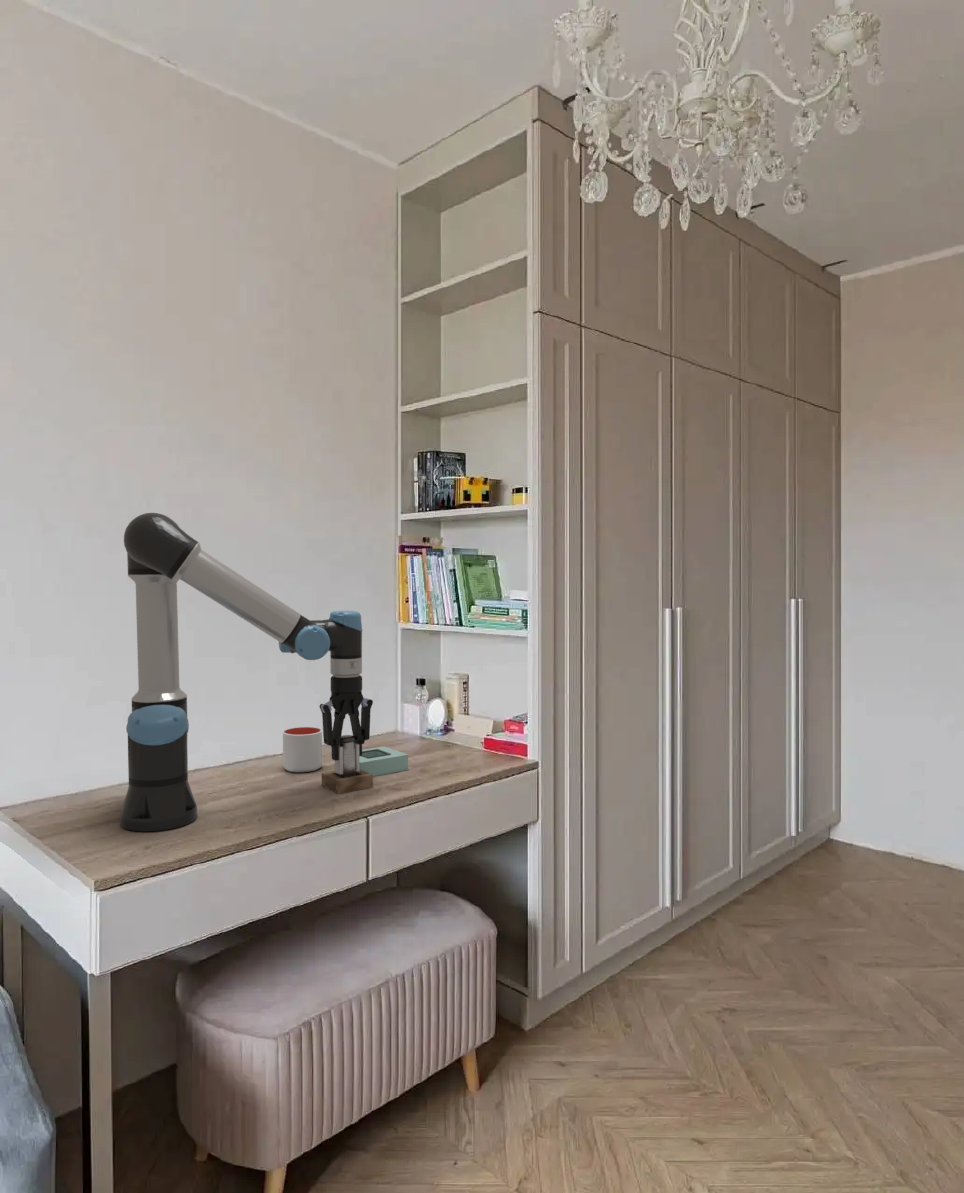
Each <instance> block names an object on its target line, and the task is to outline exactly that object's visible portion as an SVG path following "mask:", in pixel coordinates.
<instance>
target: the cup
mask: <svg viewBox="0 0 964 1193" xmlns="http://www.w3.org/2000/svg"><path fill="white" fill-rule="evenodd" d="M282 754H283V755H282V764H283V768H284V769H285V770H286V771H288V772H290V773H310V772H313V771H314V772H315V771H318V769H320V768H321V767H322V765H323V729H321V728H319V727H313V726H312V727H311V726H301V727H300V726H299V727H292V728H291V727H290V728H287V729H285V730H283V731H282Z"/></svg>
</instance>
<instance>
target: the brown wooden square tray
mask: <svg viewBox="0 0 964 1193" xmlns="http://www.w3.org/2000/svg"><path fill="white" fill-rule="evenodd" d="M355 773H356V776H352V777H347V778H341V777H339V774H338V773H335V770H332V771H325V772H321V786H323V787H324V788H327V789H329V790H331V791H332V792H335V793H338V794H344V793H351V792H354V791H355V792H356V791H360V790H365V789H370V788H374V776H373V775H372V774H370V773H367V772H365V771H362V770H360V769H359V771H355Z"/></svg>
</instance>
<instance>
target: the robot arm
mask: <svg viewBox="0 0 964 1193" xmlns="http://www.w3.org/2000/svg"><path fill="white" fill-rule="evenodd" d="M123 545H124V548H125V551H126V554H127V555H126V556H127V557H126V558H127V577H129V579H130V580H131V581H133V582H134V584H135V608H136V611H135V612H136V640H137V641H136V643H137V649H136V650H137V678H138V679H137V680H138V683H137V685H138V689H137V692H136V693H134V695H133V696H132V697H131V712H130V714H129V716H128V717H127V724H126V733H127V759H128V760H127V763H128V765H127V766H128V768H127V769H128V770H127V771H128V772H127V773H128V774H127V775H128V788H127V791H126V794H125V798H124V801H123V804H122V808H121V811H120V813H119V820H120V827H121V828H122V829H124V830H129V831H132V832H159V831H167V830H171V829H172V830H173V829H176V828H181V827H183V826H186V825H189V824H190V823H193V822H195V821H196V819H197V818H198V806H197V803H196V800H195V797H194V795H193V794H194V793H193V792H192V789H191V786H190V784H189V783H190V782H189V774H188V773H189V771H188V770H189V769H188V768H189V767H188V766H189V765H188V733H189V719H188V695H187V693H185V691H184V690H182V689H181V688H180V658H179V654H180V653H179V652H180V651H179V621H178V618H179V617H178V612H179V611H178V584H177V583H178V582H179V580H181V581H182V582H184V583H185V584H187V585H189V586H191V588H193V589H195V590H196V591H198V592H200V593H202V594H203V595H204V596H206V597H208V598H209V599H211V600H213V601H214V602H216V603H217V604H219V605H220V606H222V607H224V608H225V609H227V610H228V611H230V612H232V613H233V614H235V615H236V616H238V617H240V619H243V620H244V621H246V622H247V623H249V624H250V625H252V626H254V627H255V628H257V629H259V630H260V631H262V632H263V633H265V634H266V635H268V636H270V637H271V638H273V639H275V640H276V641H277V642H278V648H279V651H280V652H281V653H288V654H289V653H291V654H295V653H296V654H297V655H298V656H300V657H301V658H302V659H305V660H307V661H316V660H320V659H322V658H323V657H324V656H326V655H327V654H328V653H330V654H329V656H330V663H329V664H330V666H329V667H330V672H329V673H330V675H332V676H331V677H330V693H331V694H330V698H329V701H327V702H325V703H320V704H319V709H320V713H321V714H322V715H321V717H322V739H323V743H324V745H326V746H330V747H331V759H332V760H333V761H334V771H335V773H338V774H343V747H341V746H340V740H341V736H342V733H343V728H344V722H345V719H346V716H347V715H348V716H349V721H350V727H351V734H352V735H353V736H355V771H359V756H362V750H363V745H364V744H365V741H368V740H370V737H371V736H370V733H371V732H370V731H371V711H372V710H371V709H372V706H373V703H374V700H373V699H370V698H366V697H364V695H363V693H362V691H363V676H362V675H361V674H362V673H363V660H362V659H363V654H362V652H363V629H362V628H363V627H362V626H363V625H362V624H363V623H362V615H361V613H360V612H358V611H356V610H333V611H331V612H330V614H329V617H328V618H329V619H322V620H320V619H319V620H317V619H313V620H310V619H308V618H307V617H305V616H304V615H302V614H300V613H299V612H298V611H296V610H294V609H293V608H291V607H290V606H289V605H287V604H285V603H284V602H283V601H280V600H279V599H278V598H277V597H275V596H274V595H272V594H270V593H268V592H267V591H266V590H264V589H262V588H261V587H259V586H258V585H256V584H254V583H253V582H252V581H250V580H249V579H247V578H245V577H244V576H243V575H241V574H240V573H238V572H237V571H234V570H233V569H232V568H230V567H229V566H227V565H225V564H224V563H223V562H221V561H220V560H218V559H217V558H215V557H213V556H212V555H210V554H209V553H207V552H206V551H204V550H202V547H201V544H200V542H199V541H198V540H196V539H194V538H193V537H192V536H191V535H189V534H188V533H186V531H185V530H183V529H182V528H181V527H180V526H179V524H177V523H176V521H174V520H173V519H172V518H170V517H169V516H167V515H165V514H162V513H157V512H146V513H143V514H140V515H138V516H136V517H135V518H133V519H132V520H131V521H130V522H129V523H128V525H127V526H126V528H125V530H124V535H123ZM360 706H361V709H360V711H359V708H360ZM333 709H334V714H333V717H334V719H333V718H332V712H331V711H333ZM332 719H333V720H332Z"/></svg>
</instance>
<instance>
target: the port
mask: <svg viewBox="0 0 964 1193" xmlns="http://www.w3.org/2000/svg"><path fill="white" fill-rule="evenodd" d="M359 769H360V770H362V771H365V772H367V773H370V774H372V775H373V777H377V776H382V775H388V774H392V773H398V772H403V771H409V754H408V753H405V752H402V751H398V750H395V749H393V748H390V747H387V746H377V747H373V748H372V747H371V748H365V749H362V756H359Z"/></svg>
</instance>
